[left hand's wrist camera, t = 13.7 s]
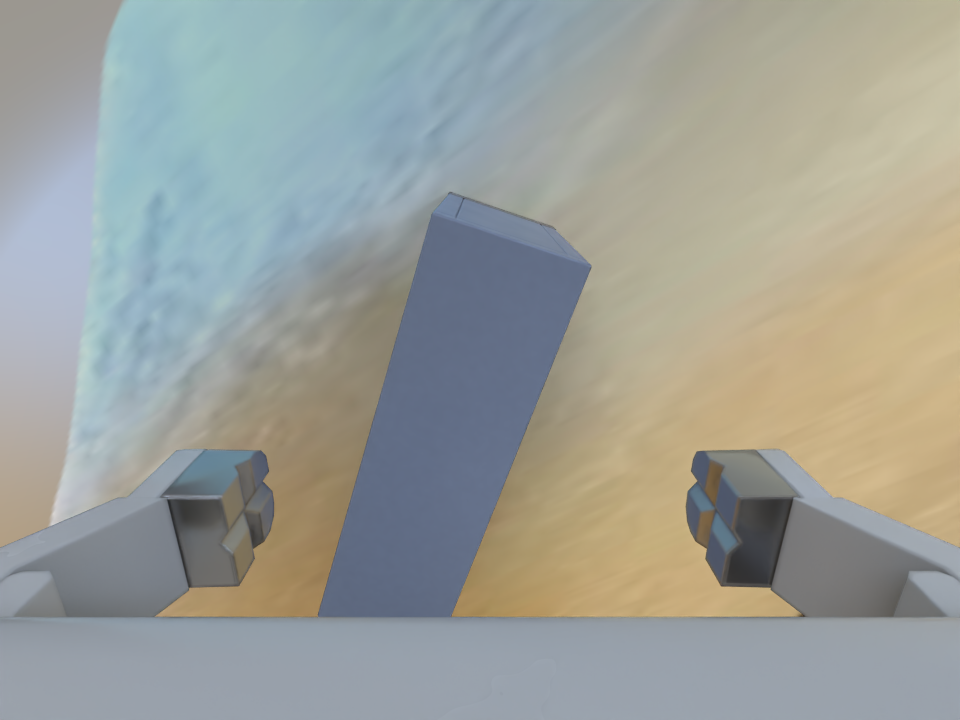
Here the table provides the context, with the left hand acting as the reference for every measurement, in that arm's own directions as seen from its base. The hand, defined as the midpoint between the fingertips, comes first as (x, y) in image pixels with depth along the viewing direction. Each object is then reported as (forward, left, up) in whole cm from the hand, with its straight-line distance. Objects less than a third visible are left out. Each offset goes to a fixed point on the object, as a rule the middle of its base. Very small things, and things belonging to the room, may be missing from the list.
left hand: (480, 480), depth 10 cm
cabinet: (+5, +1, -18) cm, 19 cm away
